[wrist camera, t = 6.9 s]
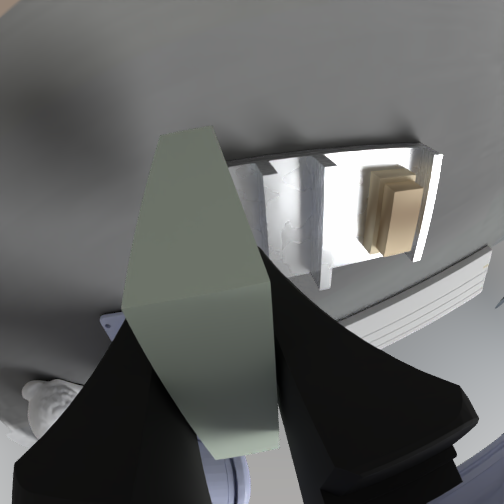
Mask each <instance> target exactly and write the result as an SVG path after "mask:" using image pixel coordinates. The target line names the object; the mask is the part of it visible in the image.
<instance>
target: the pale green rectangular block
mask: <svg viewBox="0 0 504 504" xmlns="http://www.w3.org/2000/svg"><path fill="white" fill-rule="evenodd" d="M121 310H122V312H123V314H124V316H125V318H126V320H127V321H128V323H129V325H130V327H131V329H132V331H133V333H134V335H135V336H136V338H137V340H138V342H139V344H140V346H141V347H142V349H143V351H144V353H145V354H146V356H147V358H148V360H149V361H150V363H151V365H152V366H153V368H154V370H155V372H156V373H157V375H158V377H159V378H160V380H161V381H162V383H163V385H164V386H165V388H166V389H167V391H168V393H169V394H170V396H171V397H172V399H173V400H174V402H175V404H176V405H177V407H178V408H179V410H180V411H181V413H182V414H183V416H184V417H185V419H186V420H187V421H188V423H189V424H190V426H191V427H192V429H193V430H194V431H195V433H196V434H197V436H198V437H199V438H200V440H201V441H202V443H203V444H204V445H205V447H206V448H207V449H208V451H209V452H210V453H211V455H212V456H213V457H214V459H215V460H219V459H226V458H232V457H238V456H244V455H249V454H254V453H259V452H264V451H269V450H273V449H278V448H280V444H279V422H278V402H277V383H276V365H275V347H274V331H273V315H272V299H271V284H270V279H269V276H268V274H267V271H266V268H265V266H264V263H263V260H262V258H261V255H260V252H259V249H258V247H257V244H256V241H255V239H254V236H253V233H252V231H251V228H250V225H249V223H248V220H247V217H246V214H245V212H244V209H243V206H242V204H241V201H240V198H239V196H238V193H237V190H236V188H235V185H234V182H233V180H232V177H231V174H230V172H229V169H228V166H227V164H226V161H225V158H224V156H223V153H222V150H221V148H220V145H219V143H218V140H217V137H216V135H215V132H214V129H213V127H212V126H207V127H201V128H195V129H190V130H184V131H179V132H174V133H169V134H164V135H160V138H159V141H158V145H157V148H156V151H155V155H154V158H153V162H152V165H151V169H150V173H149V176H148V180H147V184H146V188H145V192H144V196H143V200H142V204H141V208H140V212H139V216H138V221H137V225H136V230H135V234H134V239H133V244H132V249H131V254H130V259H129V264H128V270H127V275H126V281H125V287H124V293H123V299H122V306H121Z"/></svg>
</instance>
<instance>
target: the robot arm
mask: <svg viewBox="0 0 504 504" xmlns="http://www.w3.org/2000/svg"><path fill="white" fill-rule="evenodd" d="M257 247H258V246H257ZM258 249H259V252H260V255H261V258H262V260H263V263H264V266H265V268H266V271H267V274H268V276H269V279H270V284H271V299H272V315H273V331H274V347H275V365H276V383H277V402H278V406H279V409H280V413H281V417H282V421H283V425H284V428H285V432H286V435H287V440H288V444H289V447H290V451H291V455H292V459H293V463H294V466H295V471H296V474H297V478H298V482H299V486H300V490H301V494H302V498H303V502H304V504H504V433H503V434H502V435H501V436H500V437H499V438H498V439H496V440H495V441H494V442H492V443H491V444H490V445H489V446H487V447H486V448H484V449H483V450H482V451H480V452H479V453H477V454H476V455H474V456H473V457H471V458H470V459H468V460H467V461H465V462H464V463H462V464H460V465H459V466H457V467H456V465H455V463H454V461H453V459H454V458H455V457H456V456H457V453H456V451H455V449H454V447H453V444H454V443H455V442H457V441H458V440H459V439H460V438H462V437H463V436H464V435H465V434H467V433H468V432H469V431H470V430H471V429H472V428H473V427H475V426H476V424H477V423H478V420H479V417H478V416H477V414H476V412H475V410H474V408H473V406H472V404H471V402H470V400H469V398H468V397H467V396H466V394H465V393H464V391H463V390H462V388H461V387H460V386H459V385H456V384H454V383H451V382H449V381H446V380H443V379H441V378H438V377H436V376H433V375H431V374H428V373H425V372H423V371H420V370H418V369H416V368H414V367H412V366H410V365H408V364H406V363H404V362H402V361H400V360H398V359H396V358H394V357H392V356H391V355H389V354H387V353H385V352H384V351H382V350H380V349H378V348H377V347H375V346H373V345H371V344H370V343H368V342H366V341H365V340H363V339H362V338H360V337H359V336H357V335H356V334H354V333H353V332H351V331H350V330H348V329H347V328H345V327H344V326H343V325H341V324H340V323H338V322H337V321H336V320H334V319H333V318H332V317H330V316H329V315H328V314H327V313H325V312H324V311H323V310H322V309H320V308H319V307H318V306H317V305H316V304H315V303H313V302H312V301H311V300H310V299H309V298H308V297H306V296H305V295H304V294H303V293H302V292H301V291H300V290H299V289H298V288H297V287H296V286H295V285H294V284H293V283H292V282H291V281H290V280H289V279H288V278H287V277H286V276H285V275H284V274H283V273H282V272H281V271H280V270H279V269H278V268H277V267H276V266H275V265H274V263H273V262H272V261H271V260H270V259H269V258H268V256H267V255H266V254H265V253H264V251H263V250H262V249H261V248H260V247H258ZM100 323H101V325H102V326H103V328H104V330H105V331H106V333H107V335H108V336H109V338H110V339H111V341H112V343H111V345H110V347H109V348H108V350H107V352H106V353H105V355H104V357H103V358H102V360H101V361H100V363H99V364H98V366H97V367H96V369H95V371H94V372H93V374H92V375H91V377H90V378H89V379H88V381H87V382H86V383H85V385H84V386H83V388H82V389H81V390H80V392H79V393H78V394H77V396H76V397H75V398H74V400H73V401H72V402H71V404H70V405H69V406H68V407H67V409H66V410H65V411H64V412H63V413H62V415H61V416H60V417H59V418H58V419H57V421H56V422H55V423H54V424H53V425H52V426H51V427H50V428H49V429H48V431H47V432H46V433H45V434H44V435H43V436H42V437H41V438H40V439H39V440H38V441H37V442H36V443H35V444H34V445H33V446H32V447H31V448H30V449H29V450H28V451H27V452H26V453H25V454H24V455H23V456H22V457H21V458H20V459H19V460H18V461H16V462H15V464H14V473H13V490H12V504H248V503H249V500H250V494H251V481H250V473H249V468H248V464H247V461H246V457H245V455H244V456H238V457H232V458H226V459H219V460H215V459H214V457H213V456H212V455H211V453H210V452H209V451H208V449H207V448H206V447H205V445H204V444H203V443H202V441H201V440H200V438H199V437H198V436H197V434H196V433H195V431H194V430H193V429H192V427H191V426H190V424H189V423H188V421H187V420H186V419H185V417H184V416H183V414H182V413H181V411H180V410H179V408H178V407H177V405H176V404H175V402H174V400H173V399H172V397H171V396H170V394H169V393H168V391H167V389H166V388H165V386H164V385H163V383H162V381H161V380H160V378H159V377H158V375H157V373H156V372H155V370H154V368H153V366H152V365H151V363H150V361H149V360H148V358H147V356H146V354H145V353H144V351H143V349H142V347H141V346H140V344H139V342H138V340H137V338H136V336H135V335H134V333H133V331H132V329H131V327H130V325H129V323H128V321H127V320H126V318H125V316H124V314H123V312H118V313H112V314H105V315H102V316H101V317H100ZM108 324H109V325H108Z"/></svg>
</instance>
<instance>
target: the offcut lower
mask: <svg viewBox="0 0 504 504" xmlns="http://www.w3.org/2000/svg"><path fill="white" fill-rule="evenodd" d="M415 180H416V174H414V173H413V172H411V171H410V170H408V169H407V168H400V169H390V170H379V171H371V175H370V186H369V197H368V207H367V216H366V224H365V232H364V240H363V247H364V248H365V249H366V251H367V252H368V253H369V255H373V254H377V253H380V252H379V251H378V250H377V248H376V243H377V237H378V231H379V224H380V217H381V210H382V202H383V194H384V186H385V184H387V183H395V182H404V181H415Z"/></svg>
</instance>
